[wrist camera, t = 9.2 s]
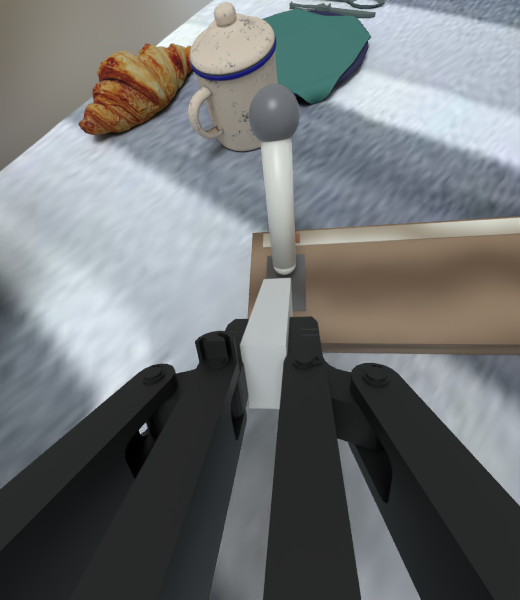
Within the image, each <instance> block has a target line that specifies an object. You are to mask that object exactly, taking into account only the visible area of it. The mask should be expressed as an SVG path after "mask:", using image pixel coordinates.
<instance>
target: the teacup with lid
mask: <svg viewBox="0 0 520 600" xmlns="http://www.w3.org/2000/svg"><path fill="white" fill-rule="evenodd" d="M214 17H215V20H214V21H213V22H212V23H211V24H210V26H209V27H208V28H207V29H206V30H205V31H203V32H202V33H201V34H200V35H199V36H198V37H197V38H196V40H195V41H194V43H193V45H192V47H191V51H190V63H191V67H192V69H193V71H194V72H195V73H196V75H197V78H198V81H199V84H200V87H201V89H200V90H199V91H197V92H196V93H195V94H194V96H193V97H192V99H191V101H190V104H189V109H188V115H189V120H190V123H191V125H192V127H193V128H194V130H195V131H196V132H197V133H198V134H199V135H200V136H202V137H204V138H206V139H214V138H217V137H218V140H219V141H220V142H221V144H222V145H224V146H225V147H227V148H228V149H231V150H235V151H250V150H254V149H257V148H260V147H261V143H260V140H258V139H257V138H256V136H255V135H254V133H253V131H252V129H251V126H250V122H249V109H250V105H251V102H252V100H253V98H254V96H255V95H256V93H257V92H258V91H259V90H260V89H261V88H263V87H265V86H267V85H270V84H278V81H277V70H276V58H275V49H276V37H275V34H274V31H273V29H272V27H271V26H270V25H269V24H268V23H267V22H266V21H264V20H262V19H260V18H257V17H250V16H244V15H242V14H236V12H235V8H234V6H233V5H232V4H231V3H229V2H225V3H222V4H219V5H218V6H217V7H216V8H215V11H214ZM204 101H205V102H206V105H207V108H208V111H209V114H210V117H211V120H212V123H213V126H214V128H212V129H211V130H208V131H205V130H204V129H203V128H202V127H201V125H200V122H199V118H198V113H199V109H200V106H201V105H202V103H203V102H204Z"/></svg>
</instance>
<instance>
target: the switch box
mask: <svg viewBox="0 0 520 600" xmlns="http://www.w3.org/2000/svg"><path fill="white" fill-rule="evenodd" d="M295 248H296V266H295V269H294V270H293V271H292V272H291V273H290V274H287V275H282V274H279V273H277V272H276V271H275V269H274V267H273V261H272V251H271V241H270V232H263V233H253V239H252V255H251V272H250V289H249V305H248V319H250V316H251V313H252V310H253V308H254V305H255V302H256V299H257V296H258V294H259V291H260V288H261V285H262V283H263V280H264V279H278V278H291V290H292V308H293V317H308V316H312V317H313V318H314V319H315V320H316V321H317V322H318V327H319V334H320V341H321V348H322V352H327V353H403V354H478V355H520V216H516V217H500V218H484V219H469V220H453V221H437V222H421V223H405V224H389V225H374V226H358V227H342V228H326V229H310V230H295Z"/></svg>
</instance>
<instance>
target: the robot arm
mask: <svg viewBox="0 0 520 600" xmlns="http://www.w3.org/2000/svg"><path fill="white" fill-rule="evenodd" d="M195 344H196V349H197V353H198V357H199V364H198V366H197V368H196V369H194V370H191V371H186V372H182V373H177V374H176V373H175V369H174V368H173V366H171V365H169V364H157V365H152V366H150V367H147V368H145V369H144V370H142V371H141V372H139V373H138V374H137V375H135V376H134V377H133V378H132V379H131V380H129V381H128V382H127V383H126V384H125V385H124V386H122V387H121V388H120V389H119V390H118V391H116V392H115V393H114V394H113V395H112V396H110V397H109V398H108V399H107V400H106V401H105V402H103V403H102V404H101V405H100V406H99V407H97V408H96V409H95V410H94V411H93V412H92V413H90V414H89V415H88V416H87V417H86V418H84V419H83V420H82V421H81V422H80V423H78V424H77V425H76V426H75V427H74V428H73V429H71V430H70V431H69V432H68V433H67V434H65V435H64V436H63V437H62V438H61V439H59V440H58V441H57V442H56V443H55V444H54V445H52V446H51V447H50V448H49V449H48V450H46V451H45V452H44V453H43V454H42V455H40V456H39V457H38V458H37V459H36V460H35V461H33V462H32V463H31V464H30V465H29V466H27V467H26V468H25V469H24V470H23V471H22V472H20V473H19V474H18V475H17V476H16V477H14V478H13V479H12V480H11V481H10V482H8V483H7V484H6V485H5V486H4V487H3V488H1V489H0V600H208V599H209V594H210V590H211V585H212V580H213V576H214V571H215V566H216V562H217V557H218V552H219V548H220V543H221V538H222V534H223V529H224V524H225V520H226V515H227V510H228V506H229V501H230V496H231V492H232V487H233V482H234V478H235V473H236V468H237V464H238V459H239V454H240V450H241V445H242V440H243V435H244V431H245V426H246V421H247V414H246V403H247V399H248V403H249V408H260V409H279V421H278V432H277V444H276V456H275V467H274V479H273V490H272V502H271V514H270V525H269V537H268V549H267V560H266V572H265V583H264V595H263V600H361V595H360V588H359V581H358V575H357V568H356V561H355V555H354V548H353V541H352V535H351V528H350V522H349V515H348V508H347V502H346V495H345V488H344V482H343V475H342V468H341V462H340V455H339V448H338V442H337V438H338V439H341V440H344V441H347V442H349V446H350V448H351V451H352V453H353V455H354V457H355V459H356V461H357V463H358V466H359V468H360V470H361V472H362V474H363V476H364V478H365V481H366V483H367V485H368V487H369V489H370V491H371V493H372V496H373V498H374V500H375V502H376V504H377V506H378V508H379V511H380V513H381V515H382V517H383V519H384V521H385V523H386V526H387V528H388V530H389V532H390V534H391V536H392V538H393V541H394V543H395V545H396V547H397V549H398V551H399V553H400V556H401V558H402V560H403V562H404V564H405V566H406V568H407V571H408V573H409V575H410V577H411V579H412V581H413V583H414V586H415V588H416V590H417V592H418V594H419V596H420V598H421V600H520V506H519V505H518V504H517V503H516V502H515V500H514V499H513V498H512V497H511V496H510V495H509V494H508V493H507V492H506V491H505V490H504V488H503V487H502V486H501V485H500V484H499V483H498V482H497V481H496V480H495V479H494V478H493V477H492V475H491V474H490V473H489V472H488V471H487V470H486V469H485V468H484V467H483V466H482V465H481V463H480V462H479V461H478V460H477V459H476V458H475V457H474V456H473V455H472V454H471V453H470V451H469V450H468V449H467V448H466V447H465V446H464V445H463V444H462V443H461V442H460V441H459V440H458V438H457V437H456V436H455V435H454V434H453V433H452V432H451V431H450V430H449V429H448V428H447V426H446V425H445V424H444V423H443V422H442V421H441V420H440V419H439V418H438V417H437V416H436V414H435V413H434V412H433V411H432V410H431V409H430V408H429V407H428V406H427V405H426V404H425V403H424V401H423V400H422V399H421V398H420V397H419V396H418V395H417V394H416V393H415V392H414V391H413V389H412V388H411V387H410V386H409V385H408V384H407V383H406V382H405V381H404V380H403V379H402V377H401V376H400V375H399V374H398V373H396V372H395V371H394V370H393V369H391V368H389V367H387V366H384V365H381V364H376V363H364V364H360V365H357V366H356V367H355V368H354V369H353V370H352V373H351V372H346V371H342V370H339V369H336V368H334V367H332V366H330V365H329V364H328V363H326V361H325V360H324V358H323V355H322V348H321V341H320V334H319V327H318V322H317V321H316V320H315V319H314V318H313V317H312V316H308V317H293V308H292V290H291V278H278V279H264V280H263V283H262V285H261V288H260V291H259V294H258V296H257V299H256V302H255V305H254V308H253V310H252V313H251V316H250V319H235V320H233V321H232V322H231V323H230V324H228V326H227V328H226V330H225V331H215V332H210V333H207V334H204V335H202V336H201V337H199V338H198V339H197V340H196V341H195ZM145 423H146V424H147V427H148V429H147V430H146V431H145V432H143V433H142V434H140V433H139V429H140V428H141V427H142V426H143V425H144V424H145Z"/></svg>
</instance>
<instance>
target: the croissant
mask: <svg viewBox="0 0 520 600" xmlns="http://www.w3.org/2000/svg"><path fill="white" fill-rule="evenodd" d="M190 51H191V46H188V47H187V48H185V47H183V46H179V45H175V44H172V43H171V44H170V46H169V47H168V48H165V47H155V46H154V45H150V44H145V46H144V47H143V48H142V50H140V51H139V54H138V56H136V55H133V54H131V53H129V52H127V51H119V52H117V53H115V54H112V55H110V56H109V57H108V58H107V59H105V60H104V61H103V62H101V65H100V67H99V71H98V73H97V74H98V76H99V83H97V84H96V86H95V87H94V89H93V99H94V103H91V104H89V105H88V106H87V107H86V109H85V112H84V119H83V120H82V121H80V123H79V126H80V127H81V129H82V130H83V131H84V132H85V133H88V134H91V135H98V134H105V133H109V132H118V133H119V132H124V131H126V130H129V129H130V128H131V127H134V126H136V125H138V124H141V123H143V122H145V121H147V120H149V119H150V118H152V117H153V116H154V115H155V114H156V113H158V112H159V111H161V110H162V109H164V108H165V107H166V106H167V105H168V104H169V103H170V101H171V100H172V99H173V97H174V96H175V94H176V91H177V89H179V88H180V87H181V86H182V84H183V83H184V79H185V78H186V75H187V74H188V73H190V72H191V70H192V67H191V63H190Z"/></svg>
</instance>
